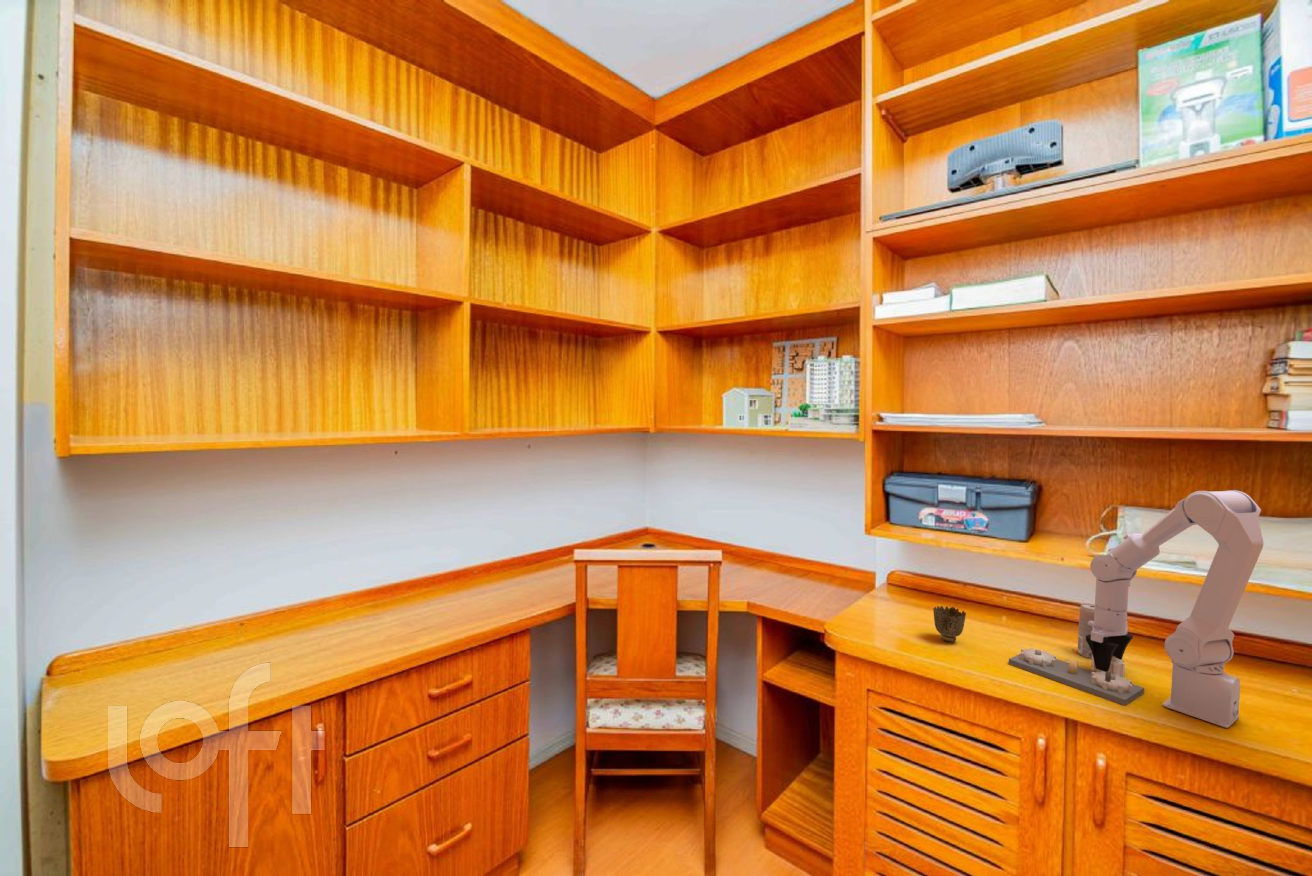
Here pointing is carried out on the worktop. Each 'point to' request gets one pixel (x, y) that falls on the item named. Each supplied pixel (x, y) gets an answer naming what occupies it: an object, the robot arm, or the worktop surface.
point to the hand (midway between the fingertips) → (1107, 666)
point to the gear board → (1078, 676)
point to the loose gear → (1112, 666)
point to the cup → (949, 622)
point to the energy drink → (1085, 629)
